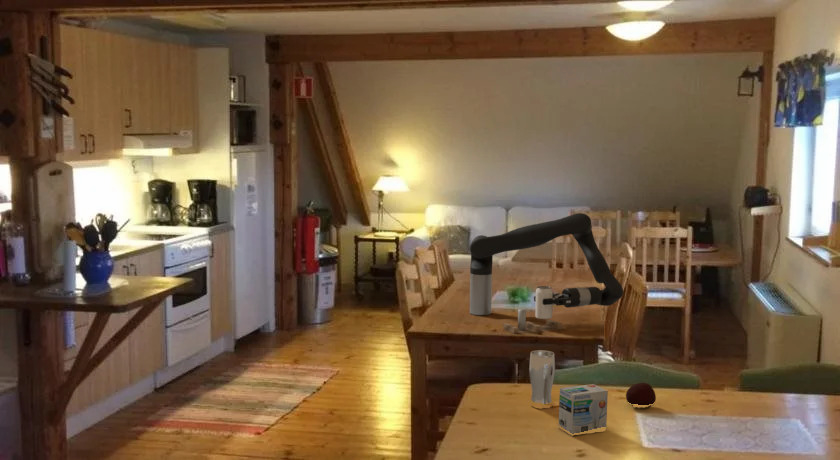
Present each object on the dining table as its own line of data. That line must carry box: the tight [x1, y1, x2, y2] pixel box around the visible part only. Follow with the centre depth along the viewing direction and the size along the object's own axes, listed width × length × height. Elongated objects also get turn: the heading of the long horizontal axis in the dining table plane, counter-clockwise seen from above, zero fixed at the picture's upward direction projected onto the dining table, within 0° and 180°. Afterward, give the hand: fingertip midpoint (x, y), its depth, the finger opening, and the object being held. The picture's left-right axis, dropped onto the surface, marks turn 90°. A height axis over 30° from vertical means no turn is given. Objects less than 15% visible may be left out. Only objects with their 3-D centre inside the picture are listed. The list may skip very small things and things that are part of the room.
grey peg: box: [517, 308, 527, 331], centre depth 323 cm, size 3×3×8 cm
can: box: [534, 285, 553, 320], centre depth 326 cm, size 6×6×12 cm
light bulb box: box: [558, 383, 609, 434], centre depth 214 cm, size 11×7×11 cm, turn 114°
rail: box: [502, 319, 563, 335], centre depth 325 cm, size 9×21×3 cm, turn 112°
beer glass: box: [528, 349, 556, 404], centre depth 233 cm, size 7×7×15 cm
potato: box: [625, 382, 657, 405], centre depth 233 cm, size 7×8×7 cm
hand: (538, 300), depth 325 cm, fingers closed on can, 6 cm apart
